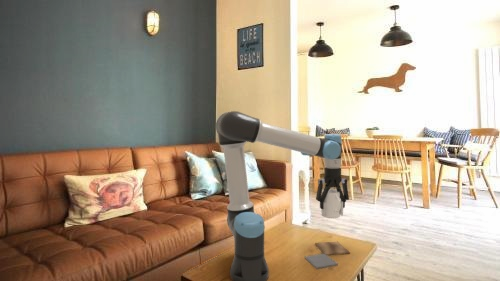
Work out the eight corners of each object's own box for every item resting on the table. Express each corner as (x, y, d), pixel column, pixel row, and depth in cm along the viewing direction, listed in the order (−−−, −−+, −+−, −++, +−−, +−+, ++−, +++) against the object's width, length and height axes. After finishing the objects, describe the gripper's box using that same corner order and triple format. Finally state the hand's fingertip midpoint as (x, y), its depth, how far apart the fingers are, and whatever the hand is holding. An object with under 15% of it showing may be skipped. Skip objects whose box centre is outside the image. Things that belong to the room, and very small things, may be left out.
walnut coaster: (324, 255, 128) (324, 253, 128) (314, 244, 140) (314, 243, 140) (349, 253, 130) (349, 252, 130) (337, 243, 142) (337, 241, 142)
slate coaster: (316, 269, 117) (316, 267, 117) (304, 258, 126) (304, 256, 126) (337, 265, 120) (337, 263, 120) (324, 254, 129) (324, 253, 129)
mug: (347, 220, 129) (347, 194, 129) (329, 221, 128) (330, 195, 127) (334, 212, 141) (334, 188, 140) (318, 213, 139) (318, 189, 139)
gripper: (314, 169, 128) (314, 218, 129) (357, 167, 131) (357, 216, 132) (308, 166, 135) (308, 213, 137) (349, 165, 138) (349, 211, 140)
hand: (332, 215), depth 134 cm, fingers closed on mug, 8 cm apart
